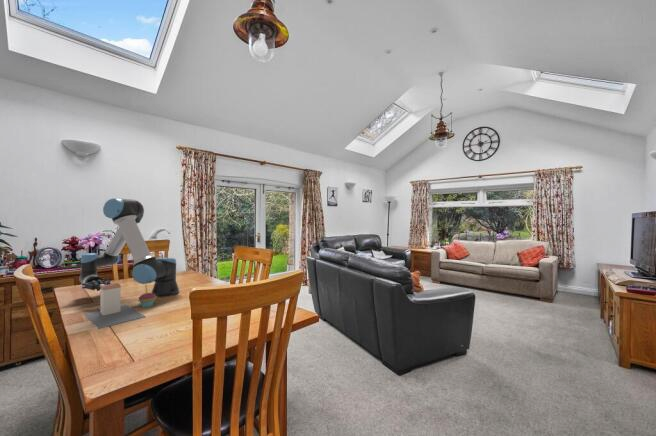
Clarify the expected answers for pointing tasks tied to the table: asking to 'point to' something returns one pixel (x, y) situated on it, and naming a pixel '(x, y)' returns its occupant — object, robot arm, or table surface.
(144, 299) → the cupcake
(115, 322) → the mat
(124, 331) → the table surface
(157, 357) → the table surface
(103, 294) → the tall block
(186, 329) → the table surface
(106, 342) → the table surface
